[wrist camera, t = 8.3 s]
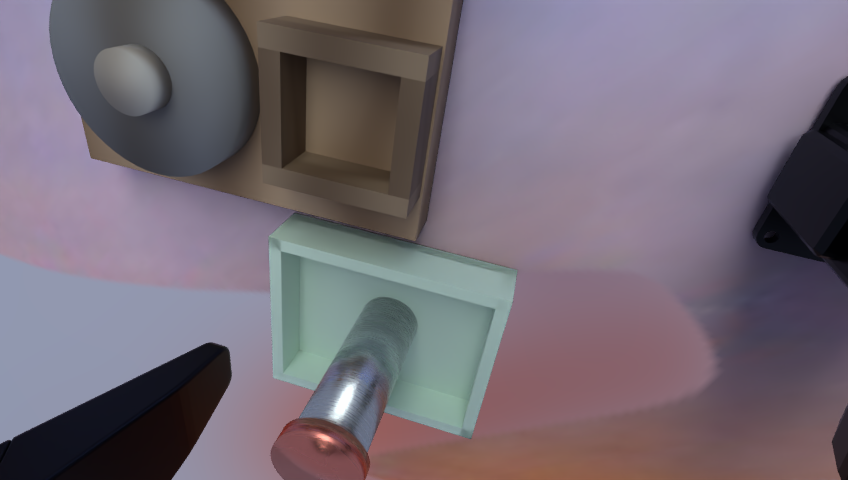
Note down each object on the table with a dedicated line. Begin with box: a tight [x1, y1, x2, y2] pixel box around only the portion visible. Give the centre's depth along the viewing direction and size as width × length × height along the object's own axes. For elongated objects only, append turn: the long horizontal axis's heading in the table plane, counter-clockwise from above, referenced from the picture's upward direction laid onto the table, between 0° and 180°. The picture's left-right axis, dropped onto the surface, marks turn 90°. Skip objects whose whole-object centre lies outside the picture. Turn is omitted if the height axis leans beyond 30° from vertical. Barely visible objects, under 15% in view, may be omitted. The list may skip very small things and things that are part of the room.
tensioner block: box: [49, 0, 463, 241], centre depth 19 cm, size 16×10×4 cm, turn 82°
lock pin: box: [271, 297, 418, 480], centre depth 21 cm, size 4×4×9 cm
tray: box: [269, 213, 517, 439], centre depth 25 cm, size 11×9×2 cm
